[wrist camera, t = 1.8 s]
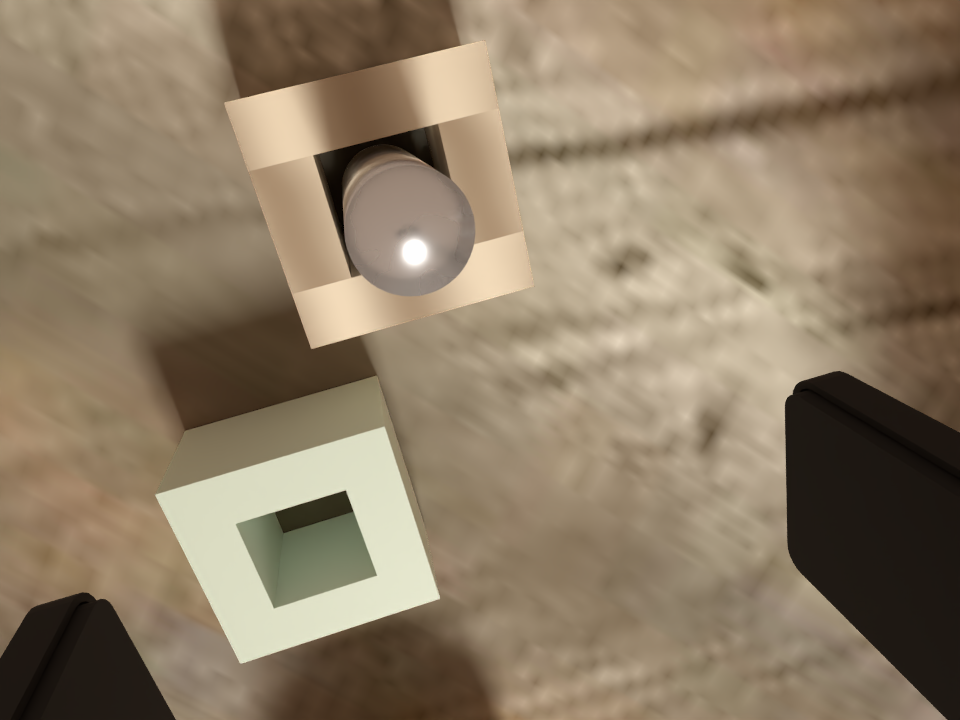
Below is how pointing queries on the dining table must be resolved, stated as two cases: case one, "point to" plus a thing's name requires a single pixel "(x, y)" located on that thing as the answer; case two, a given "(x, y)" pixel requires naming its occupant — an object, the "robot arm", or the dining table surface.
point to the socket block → (364, 117)
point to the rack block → (311, 549)
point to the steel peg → (404, 222)
